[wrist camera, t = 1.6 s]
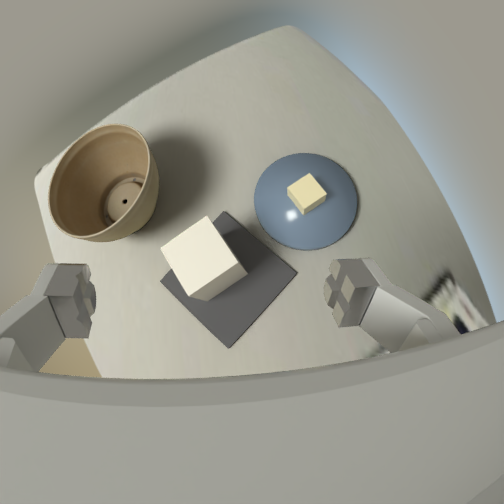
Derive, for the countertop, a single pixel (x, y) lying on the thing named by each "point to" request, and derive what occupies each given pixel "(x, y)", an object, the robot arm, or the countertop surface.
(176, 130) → the countertop surface
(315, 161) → the plate
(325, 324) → the countertop surface
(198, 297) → the white rectangular block
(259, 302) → the mat
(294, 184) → the butter
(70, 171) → the planter bowl
